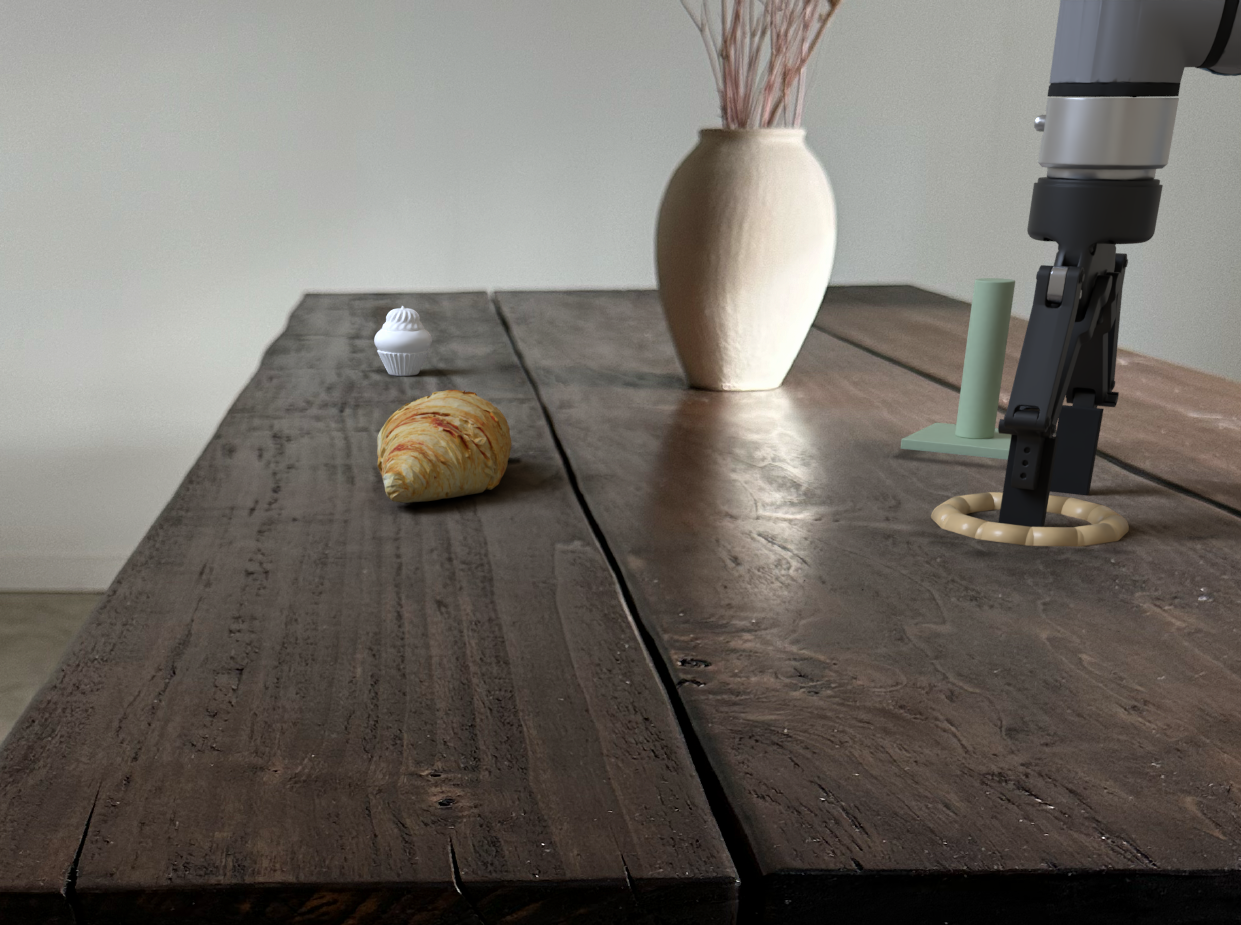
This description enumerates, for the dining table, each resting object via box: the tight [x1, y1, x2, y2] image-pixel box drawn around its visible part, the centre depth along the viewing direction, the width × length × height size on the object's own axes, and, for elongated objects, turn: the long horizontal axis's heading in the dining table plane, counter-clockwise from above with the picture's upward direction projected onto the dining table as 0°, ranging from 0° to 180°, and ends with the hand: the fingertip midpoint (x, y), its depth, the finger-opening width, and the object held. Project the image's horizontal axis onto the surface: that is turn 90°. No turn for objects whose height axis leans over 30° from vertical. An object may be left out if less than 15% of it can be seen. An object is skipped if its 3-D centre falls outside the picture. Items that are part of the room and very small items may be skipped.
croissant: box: [376, 389, 512, 504], centre depth 118 cm, size 21×10×8 cm, turn 162°
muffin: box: [373, 305, 433, 377], centre depth 170 cm, size 6×6×7 cm
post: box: [900, 277, 1016, 461], centre depth 127 cm, size 9×9×14 cm
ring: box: [930, 491, 1130, 547], centre depth 104 cm, size 12×12×2 cm
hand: (1043, 518), depth 108 cm, fingers open, 12 cm apart
